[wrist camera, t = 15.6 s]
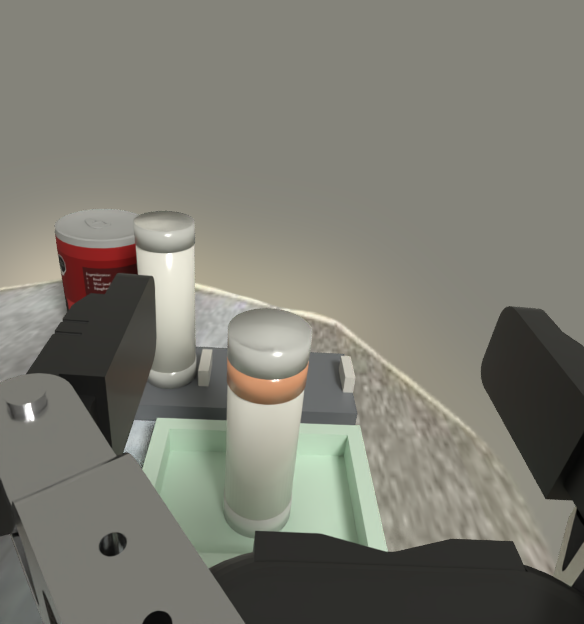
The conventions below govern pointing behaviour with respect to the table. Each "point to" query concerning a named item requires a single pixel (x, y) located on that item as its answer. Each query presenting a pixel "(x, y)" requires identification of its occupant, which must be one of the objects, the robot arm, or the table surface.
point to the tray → (305, 492)
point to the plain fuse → (170, 292)
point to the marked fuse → (263, 416)
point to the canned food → (94, 250)
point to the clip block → (213, 385)
